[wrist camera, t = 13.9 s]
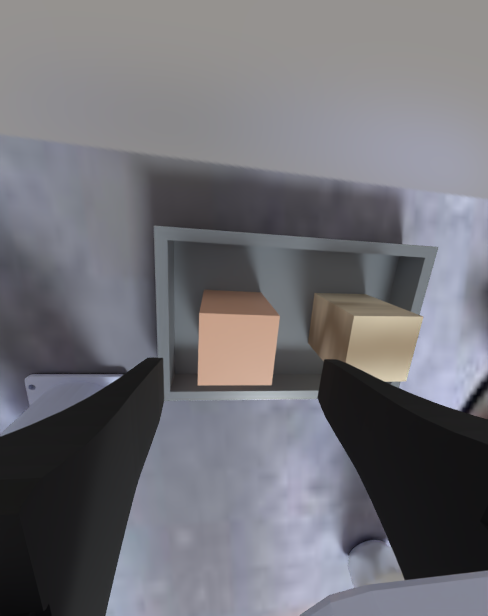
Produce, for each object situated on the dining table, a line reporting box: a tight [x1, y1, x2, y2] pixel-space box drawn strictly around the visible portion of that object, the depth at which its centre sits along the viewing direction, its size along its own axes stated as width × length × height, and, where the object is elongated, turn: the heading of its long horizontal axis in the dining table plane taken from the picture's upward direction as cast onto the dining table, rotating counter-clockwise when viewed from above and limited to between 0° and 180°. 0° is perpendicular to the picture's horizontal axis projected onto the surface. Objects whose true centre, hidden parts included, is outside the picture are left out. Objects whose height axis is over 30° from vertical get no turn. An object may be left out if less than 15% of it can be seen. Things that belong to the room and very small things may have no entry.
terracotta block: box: [198, 290, 280, 385], centre depth 17 cm, size 4×4×6 cm
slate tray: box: [154, 226, 438, 401], centre depth 20 cm, size 13×20×4 cm, turn 86°
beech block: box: [308, 293, 423, 382], centre depth 18 cm, size 4×4×6 cm
